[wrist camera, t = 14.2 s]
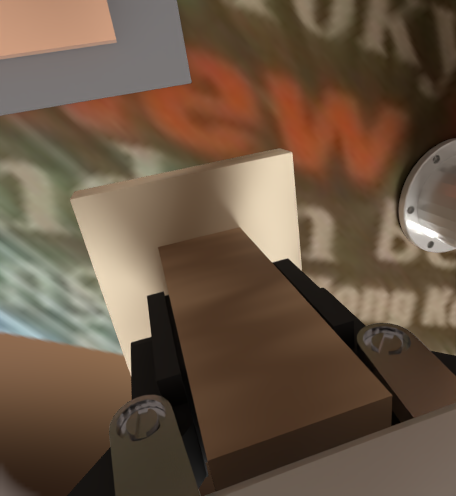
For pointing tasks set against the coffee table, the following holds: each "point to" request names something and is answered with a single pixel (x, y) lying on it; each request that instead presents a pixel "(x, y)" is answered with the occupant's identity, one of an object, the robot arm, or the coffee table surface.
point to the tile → (53, 26)
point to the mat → (102, 62)
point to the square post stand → (232, 309)
